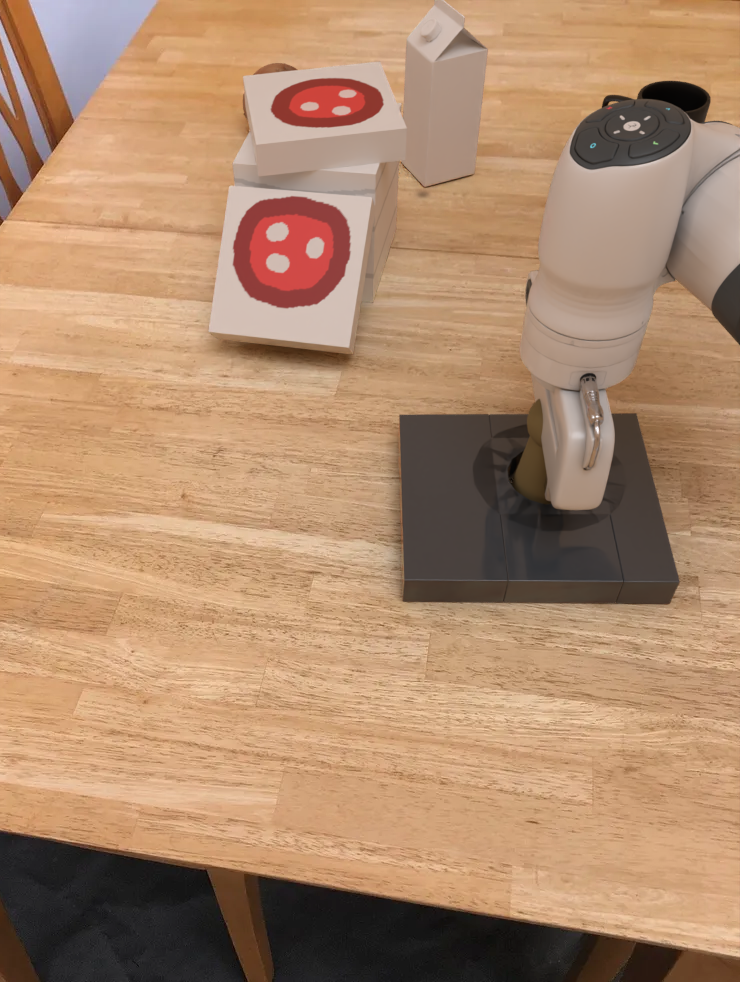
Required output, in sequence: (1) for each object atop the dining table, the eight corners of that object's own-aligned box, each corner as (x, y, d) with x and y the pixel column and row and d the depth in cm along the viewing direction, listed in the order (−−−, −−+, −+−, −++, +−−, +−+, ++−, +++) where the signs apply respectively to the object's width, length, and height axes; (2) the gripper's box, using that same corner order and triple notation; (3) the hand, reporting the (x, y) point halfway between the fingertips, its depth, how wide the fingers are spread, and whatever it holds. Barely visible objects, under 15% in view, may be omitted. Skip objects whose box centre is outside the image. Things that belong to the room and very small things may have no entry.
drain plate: (629, 436, 88) (636, 412, 86) (669, 604, 76) (680, 582, 74) (398, 437, 90) (399, 414, 88) (402, 602, 78) (404, 580, 76)
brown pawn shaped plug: (543, 533, 82) (566, 441, 73) (493, 496, 85) (509, 403, 76) (588, 499, 84) (616, 406, 75) (538, 464, 87) (559, 371, 78)
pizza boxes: (195, 359, 99) (169, 200, 84) (267, 208, 116) (255, 54, 101) (372, 380, 95) (375, 218, 81) (419, 221, 112) (428, 63, 98)
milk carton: (449, 150, 122) (463, -12, 107) (474, 175, 118) (492, 10, 103) (400, 162, 121) (407, 0, 106) (424, 188, 117) (435, 23, 102)
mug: (595, 149, 120) (612, 72, 113) (691, 162, 117) (715, 84, 109) (583, 182, 116) (599, 103, 108) (682, 196, 113) (706, 117, 105)
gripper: (648, 430, 64) (604, 558, 75) (603, 259, 76) (571, 390, 87) (555, 430, 64) (525, 557, 75) (525, 260, 76) (503, 391, 87)
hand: (549, 466), depth 81 cm, fingers open, 5 cm apart
